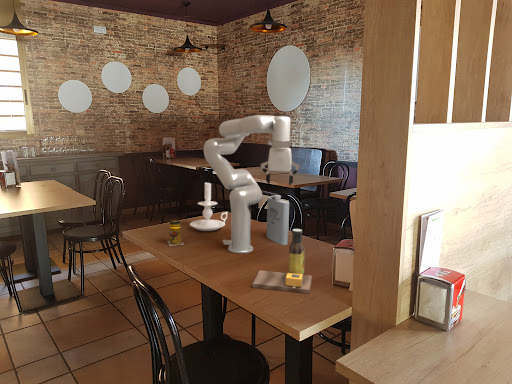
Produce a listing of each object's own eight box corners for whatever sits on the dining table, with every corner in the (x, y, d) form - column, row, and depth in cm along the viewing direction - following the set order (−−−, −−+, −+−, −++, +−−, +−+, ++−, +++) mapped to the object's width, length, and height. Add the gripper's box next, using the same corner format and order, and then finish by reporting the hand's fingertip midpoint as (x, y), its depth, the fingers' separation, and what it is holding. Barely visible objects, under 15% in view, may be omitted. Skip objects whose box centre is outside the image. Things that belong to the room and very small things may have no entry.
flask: (264, 236, 217) (265, 192, 213) (271, 235, 220) (272, 192, 215) (281, 245, 203) (283, 198, 198) (288, 244, 205) (290, 197, 200)
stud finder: (285, 285, 150) (285, 277, 149) (287, 280, 154) (287, 272, 154) (301, 286, 148) (301, 279, 148) (302, 281, 153) (302, 274, 153)
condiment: (169, 246, 197) (169, 223, 195) (166, 241, 205) (166, 219, 203) (184, 244, 200) (184, 222, 198) (180, 240, 208) (180, 218, 205)
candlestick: (237, 229, 231) (238, 182, 225) (201, 236, 215) (201, 186, 210) (218, 221, 246) (218, 177, 241) (183, 227, 231) (183, 181, 225)
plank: (252, 287, 151) (252, 283, 151) (259, 273, 165) (259, 270, 165) (309, 293, 147) (309, 289, 147) (311, 279, 161) (311, 275, 160)
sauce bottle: (305, 280, 155) (308, 232, 152) (290, 281, 154) (292, 232, 150) (300, 273, 162) (302, 227, 158) (286, 275, 160) (287, 228, 157)
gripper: (259, 144, 168) (258, 184, 171) (299, 146, 164) (298, 186, 167) (262, 143, 175) (261, 181, 178) (301, 145, 171) (299, 183, 175)
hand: (279, 183), depth 173 cm, fingers open, 9 cm apart
